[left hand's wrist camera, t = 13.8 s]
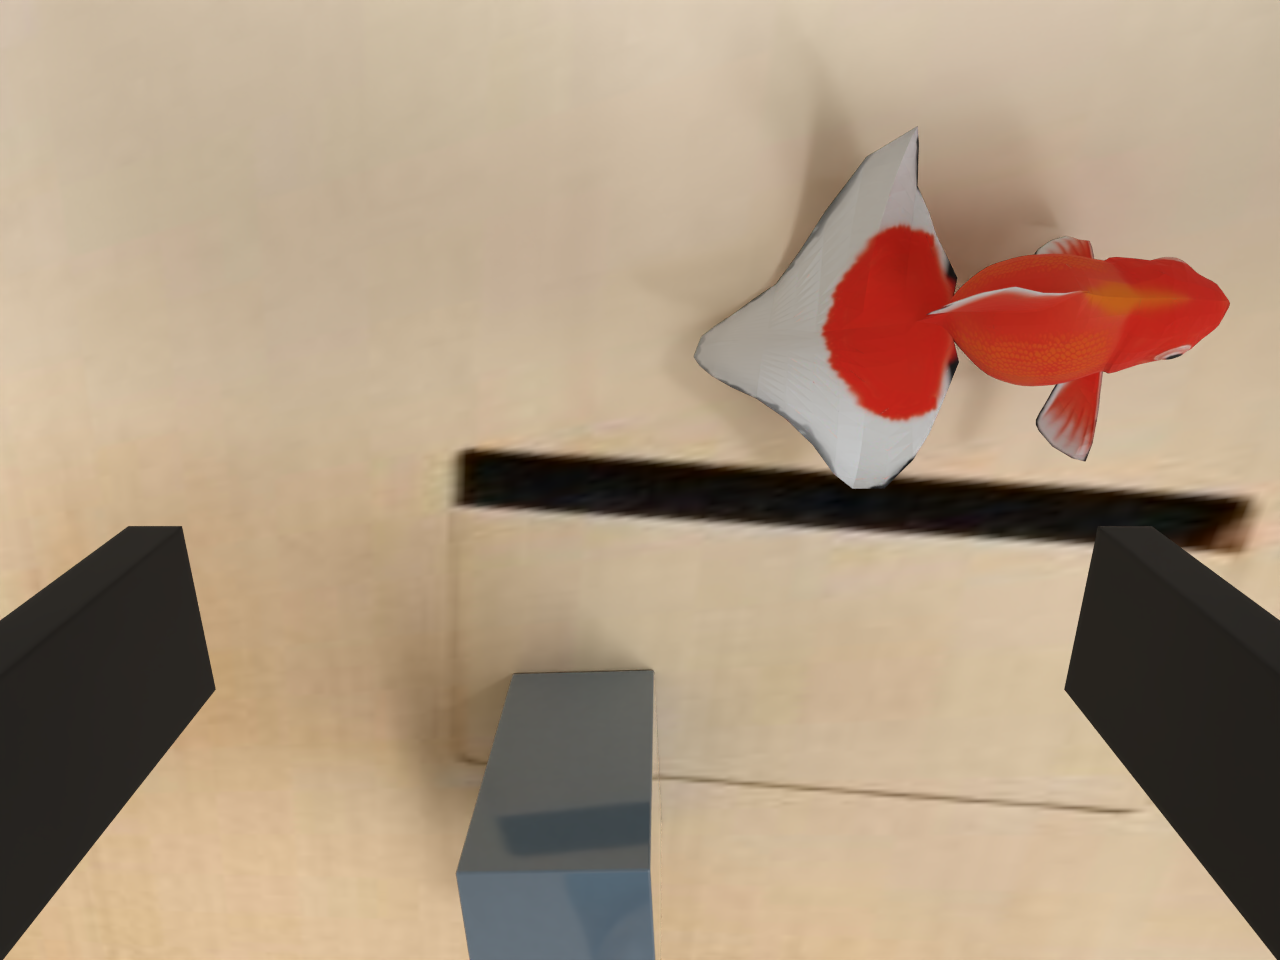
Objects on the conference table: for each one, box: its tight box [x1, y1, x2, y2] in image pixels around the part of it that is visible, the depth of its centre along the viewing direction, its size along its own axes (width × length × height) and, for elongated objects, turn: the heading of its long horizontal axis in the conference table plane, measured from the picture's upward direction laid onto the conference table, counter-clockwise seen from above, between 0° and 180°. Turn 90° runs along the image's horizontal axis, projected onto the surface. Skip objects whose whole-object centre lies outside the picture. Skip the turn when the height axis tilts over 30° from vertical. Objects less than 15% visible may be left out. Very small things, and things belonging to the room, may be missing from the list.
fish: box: [694, 126, 1230, 488], centre depth 28 cm, size 11×16×10 cm
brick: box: [456, 670, 662, 960], centre depth 34 cm, size 9×6×11 cm
